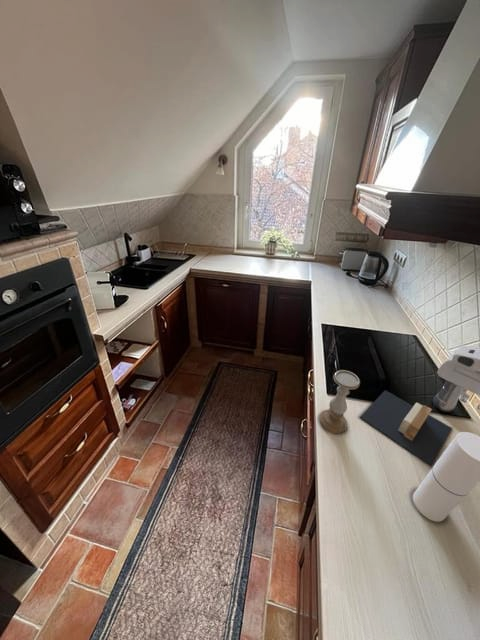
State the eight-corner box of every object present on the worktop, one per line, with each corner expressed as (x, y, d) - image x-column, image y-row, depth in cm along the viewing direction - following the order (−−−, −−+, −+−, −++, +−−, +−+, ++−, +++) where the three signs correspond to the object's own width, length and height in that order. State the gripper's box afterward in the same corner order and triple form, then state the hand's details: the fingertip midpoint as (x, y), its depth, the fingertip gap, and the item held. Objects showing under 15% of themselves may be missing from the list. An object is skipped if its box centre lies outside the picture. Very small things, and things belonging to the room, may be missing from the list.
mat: (450, 428, 86) (451, 427, 85) (431, 466, 74) (431, 465, 74) (384, 390, 100) (385, 389, 100) (359, 417, 89) (360, 416, 88)
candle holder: (346, 416, 89) (362, 372, 79) (346, 437, 82) (363, 392, 72) (321, 408, 92) (332, 365, 81) (318, 428, 85) (330, 383, 74)
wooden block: (424, 421, 88) (432, 409, 84) (411, 441, 81) (419, 429, 78) (410, 412, 90) (417, 401, 87) (397, 431, 84) (403, 419, 81)
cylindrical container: (406, 496, 67) (448, 437, 55) (425, 486, 70) (469, 427, 57) (432, 526, 62) (485, 469, 49) (452, 514, 64) (507, 457, 51)
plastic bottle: (456, 411, 92) (484, 369, 82) (443, 416, 90) (471, 374, 79) (438, 398, 97) (463, 357, 87) (426, 403, 95) (450, 362, 85)
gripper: (560, 384, 58) (524, 423, 65) (454, 343, 71) (433, 379, 79) (558, 397, 55) (521, 437, 62) (447, 351, 68) (426, 388, 75)
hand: (471, 404), depth 70 cm, fingers open, 3 cm apart
